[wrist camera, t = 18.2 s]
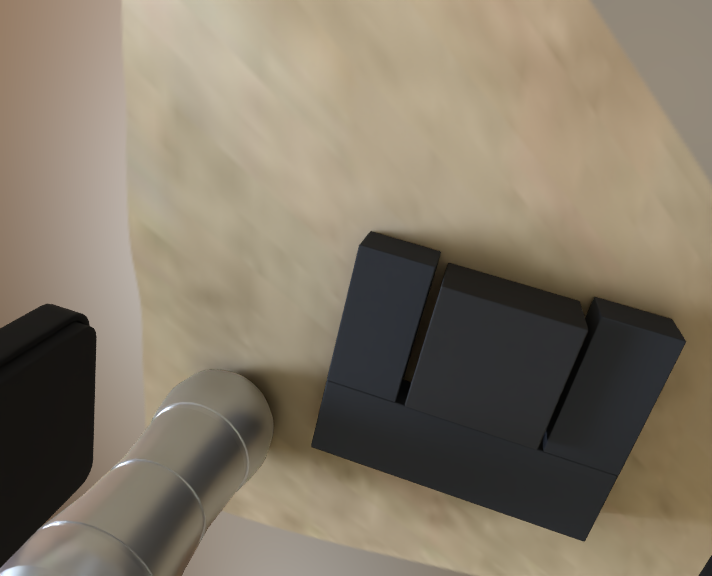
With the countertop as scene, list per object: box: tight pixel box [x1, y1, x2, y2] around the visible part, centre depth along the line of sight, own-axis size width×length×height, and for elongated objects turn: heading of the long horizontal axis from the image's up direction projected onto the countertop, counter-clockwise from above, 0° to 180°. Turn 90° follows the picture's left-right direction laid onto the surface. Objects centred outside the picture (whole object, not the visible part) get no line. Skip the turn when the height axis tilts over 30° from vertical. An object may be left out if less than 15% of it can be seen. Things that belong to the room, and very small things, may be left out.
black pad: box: [405, 263, 588, 450], centre depth 29 cm, size 7×7×4 cm
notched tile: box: [311, 231, 686, 541], centre depth 31 cm, size 12×15×2 cm
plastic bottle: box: [0, 369, 274, 576], centre depth 27 cm, size 6×7×20 cm
